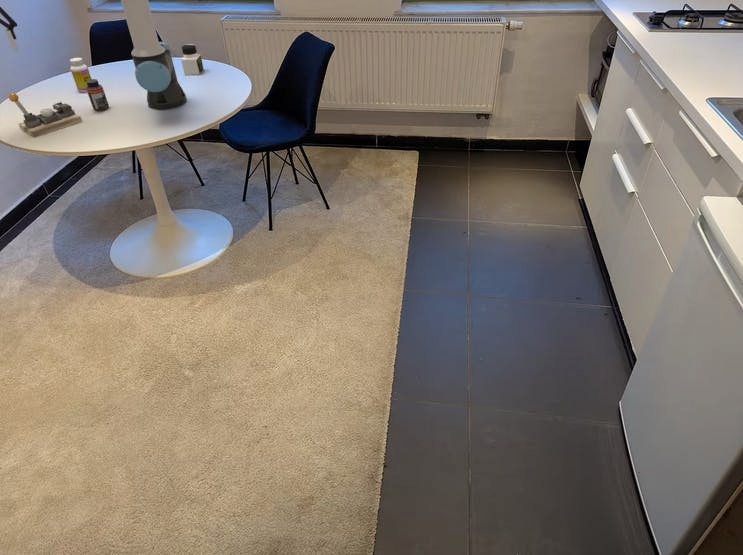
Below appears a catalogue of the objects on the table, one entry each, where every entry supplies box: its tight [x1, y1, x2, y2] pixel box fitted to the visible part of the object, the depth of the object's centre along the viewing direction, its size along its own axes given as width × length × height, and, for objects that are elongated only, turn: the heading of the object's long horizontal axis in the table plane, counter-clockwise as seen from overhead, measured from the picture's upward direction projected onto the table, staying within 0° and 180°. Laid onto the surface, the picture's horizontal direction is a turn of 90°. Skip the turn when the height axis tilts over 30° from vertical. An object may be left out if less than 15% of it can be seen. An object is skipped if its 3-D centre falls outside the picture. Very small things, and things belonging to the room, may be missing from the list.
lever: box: [8, 92, 30, 117], centre depth 194 cm, size 3×3×11 cm
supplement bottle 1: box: [69, 57, 92, 93], centre depth 230 cm, size 7×7×13 cm
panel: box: [18, 101, 83, 138], centre depth 202 cm, size 12×18×6 cm, turn 140°
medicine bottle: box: [180, 43, 205, 76], centre depth 244 cm, size 7×7×12 cm
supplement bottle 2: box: [86, 78, 110, 112], centre depth 212 cm, size 6×6×11 cm
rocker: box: [52, 103, 73, 111], centre depth 205 cm, size 4×5×2 cm
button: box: [39, 108, 54, 118], centre depth 202 cm, size 4×4×2 cm
